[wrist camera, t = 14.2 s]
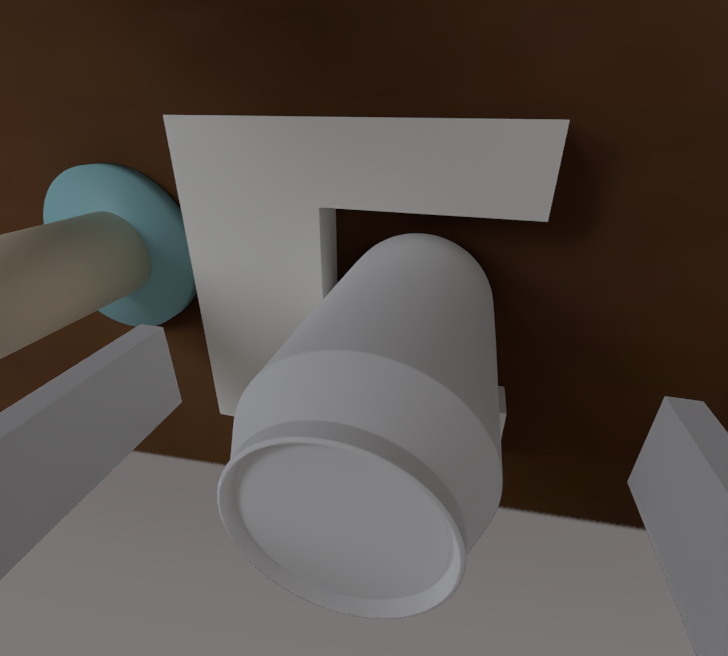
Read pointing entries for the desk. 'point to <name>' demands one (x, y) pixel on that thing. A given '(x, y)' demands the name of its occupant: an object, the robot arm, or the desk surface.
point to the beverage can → (374, 437)
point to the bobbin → (95, 256)
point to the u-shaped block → (329, 208)
